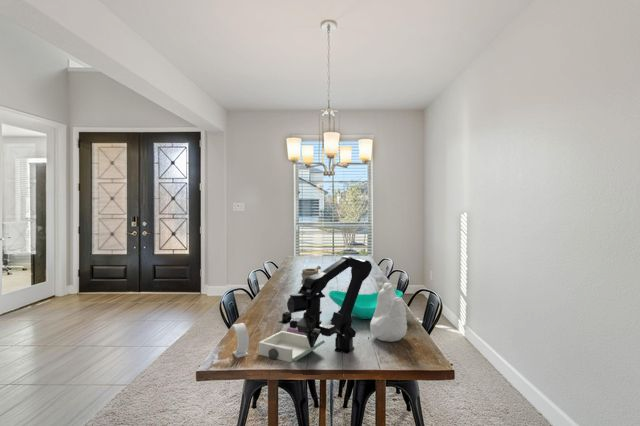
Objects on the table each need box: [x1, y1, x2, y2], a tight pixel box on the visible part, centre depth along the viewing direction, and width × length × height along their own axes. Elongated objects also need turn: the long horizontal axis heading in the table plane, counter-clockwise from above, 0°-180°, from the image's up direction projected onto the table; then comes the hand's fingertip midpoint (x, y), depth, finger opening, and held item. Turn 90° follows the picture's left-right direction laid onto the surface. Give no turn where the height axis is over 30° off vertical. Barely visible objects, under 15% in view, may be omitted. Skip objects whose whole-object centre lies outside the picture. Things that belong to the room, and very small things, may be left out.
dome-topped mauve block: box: [286, 326, 306, 336], centre depth 180 cm, size 11×4×4 cm, turn 60°
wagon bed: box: [258, 330, 311, 363], centre depth 164 cm, size 16×19×5 cm
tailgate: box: [293, 339, 326, 362], centre depth 158 cm, size 1×13×8 cm
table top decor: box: [328, 289, 404, 320], centre depth 210 cm, size 40×28×13 cm
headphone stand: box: [232, 322, 250, 359], centre depth 160 cm, size 5×6×12 cm
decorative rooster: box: [369, 282, 408, 343], centre depth 175 cm, size 25×16×25 cm, turn 1°
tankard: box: [301, 265, 322, 293], centre depth 274 cm, size 20×13×15 cm, turn 147°
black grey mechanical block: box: [278, 311, 295, 325], centre depth 205 cm, size 12×7×5 cm, turn 148°
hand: (311, 347), depth 158 cm, fingers closed, pressing on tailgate
